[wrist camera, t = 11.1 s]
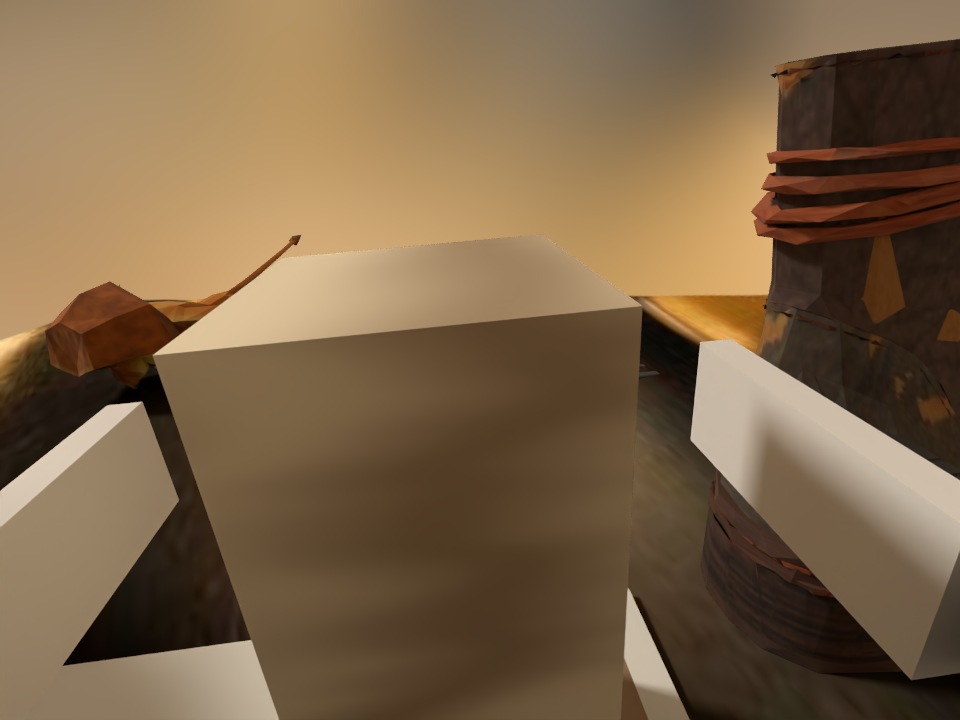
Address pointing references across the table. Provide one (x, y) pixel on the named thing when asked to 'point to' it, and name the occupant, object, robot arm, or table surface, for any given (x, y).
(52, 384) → the table surface
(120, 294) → the toy
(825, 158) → the ankle boot
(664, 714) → the white flat panel
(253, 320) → the column
